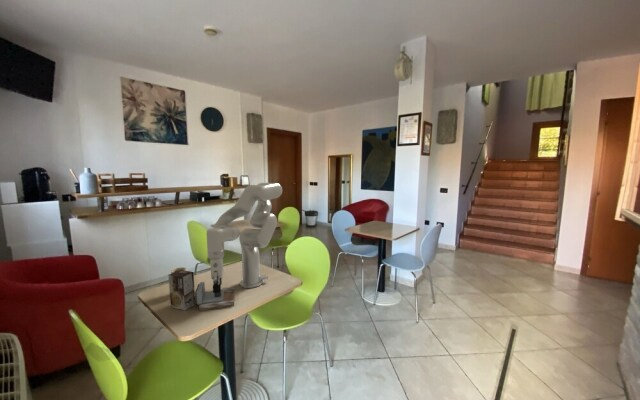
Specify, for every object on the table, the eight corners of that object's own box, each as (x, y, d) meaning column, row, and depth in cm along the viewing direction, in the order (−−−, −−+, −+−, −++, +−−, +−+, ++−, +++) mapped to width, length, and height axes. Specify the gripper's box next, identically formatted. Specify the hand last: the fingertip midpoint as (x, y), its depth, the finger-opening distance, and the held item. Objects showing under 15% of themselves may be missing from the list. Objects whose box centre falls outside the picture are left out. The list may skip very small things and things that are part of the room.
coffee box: (196, 304, 125) (194, 271, 123) (185, 310, 119) (183, 276, 117) (181, 301, 128) (179, 269, 126) (170, 307, 122) (167, 274, 120)
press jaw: (224, 292, 134) (223, 271, 132) (222, 303, 123) (221, 279, 122) (199, 295, 130) (197, 273, 129) (195, 306, 120) (194, 282, 119)
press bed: (234, 292, 137) (234, 287, 137) (233, 306, 123) (233, 301, 123) (203, 296, 133) (203, 291, 133) (199, 311, 119) (198, 305, 118)
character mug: (185, 288, 142) (184, 265, 141) (194, 290, 139) (192, 267, 137) (165, 296, 132) (164, 271, 131) (174, 299, 129) (173, 274, 128)
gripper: (223, 258, 118) (224, 295, 120) (225, 248, 135) (226, 280, 137) (205, 260, 116) (207, 297, 118) (209, 249, 132) (211, 282, 134)
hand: (217, 288), depth 127 cm, fingers open, 8 cm apart
